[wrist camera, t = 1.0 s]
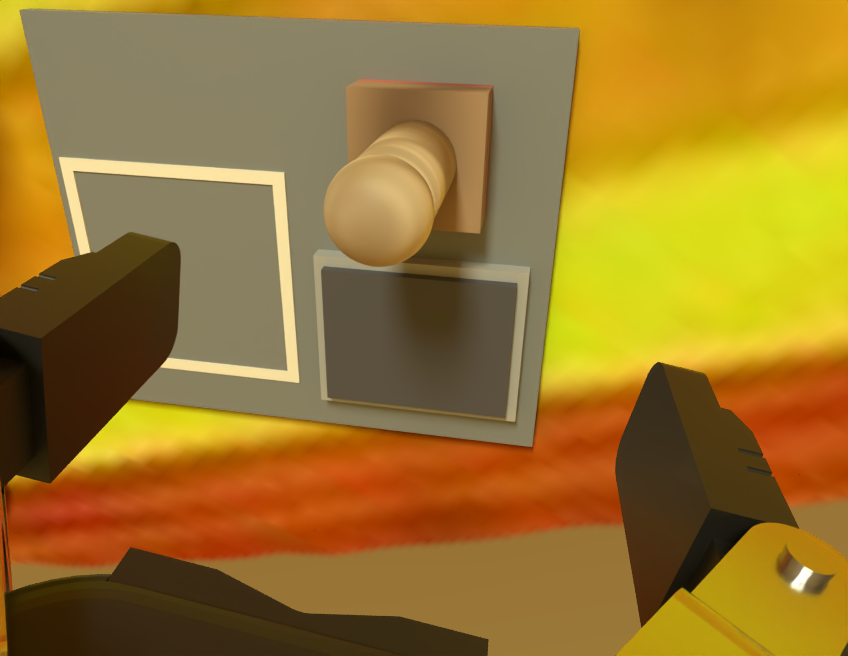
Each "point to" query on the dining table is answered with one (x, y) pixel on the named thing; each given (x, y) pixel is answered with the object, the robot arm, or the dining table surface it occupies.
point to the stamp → (409, 167)
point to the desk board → (312, 209)
